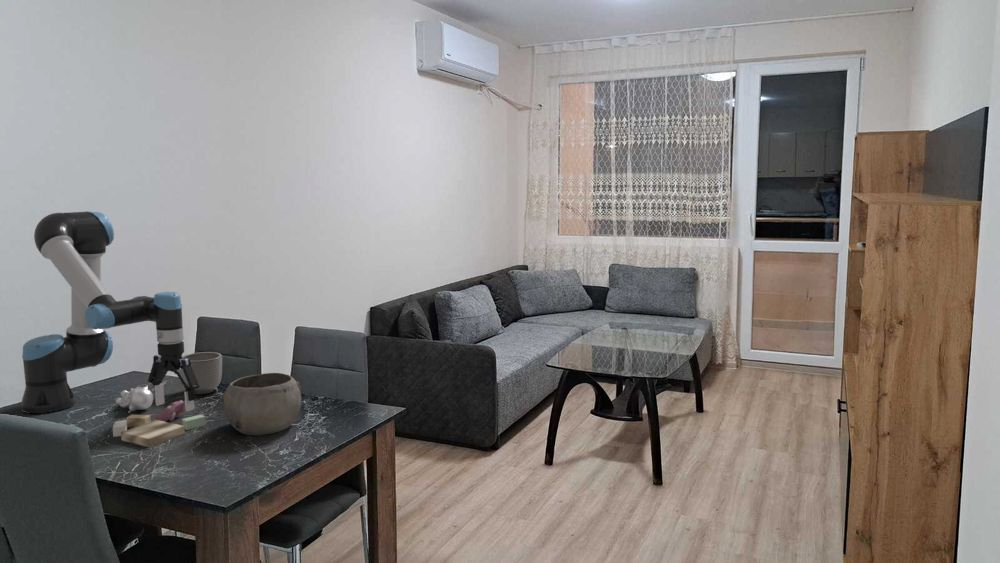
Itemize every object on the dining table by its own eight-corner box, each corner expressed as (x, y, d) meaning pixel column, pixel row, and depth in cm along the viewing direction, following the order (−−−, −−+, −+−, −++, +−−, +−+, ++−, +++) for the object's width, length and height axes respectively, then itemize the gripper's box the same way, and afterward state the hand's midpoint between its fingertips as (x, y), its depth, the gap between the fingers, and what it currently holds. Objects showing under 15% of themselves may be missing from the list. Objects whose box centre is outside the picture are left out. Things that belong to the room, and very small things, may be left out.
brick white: (116, 430, 215) (115, 421, 214) (127, 429, 216) (126, 420, 215) (113, 437, 209) (112, 427, 209) (124, 436, 210) (124, 426, 210)
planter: (214, 397, 247) (212, 361, 245) (174, 397, 247) (172, 361, 246) (229, 386, 261) (228, 352, 259) (192, 385, 261) (190, 351, 259)
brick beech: (126, 427, 218) (126, 417, 217) (132, 423, 221) (131, 414, 220) (145, 427, 218) (145, 418, 217) (151, 424, 221) (150, 415, 220)
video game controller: (165, 429, 220) (173, 410, 219) (153, 422, 221) (161, 403, 219) (185, 419, 230) (193, 401, 228) (173, 412, 230) (181, 394, 229)
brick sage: (186, 430, 215) (186, 421, 215) (182, 428, 217) (181, 419, 217) (206, 425, 220) (205, 416, 219) (201, 423, 222) (200, 414, 221)
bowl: (281, 409, 235) (279, 365, 233) (316, 427, 219) (315, 380, 217) (212, 426, 219) (209, 379, 217) (245, 446, 203) (242, 395, 201)
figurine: (124, 379, 240) (147, 378, 231) (141, 391, 244) (164, 391, 236) (105, 407, 234) (127, 407, 225) (123, 418, 238) (146, 419, 230)
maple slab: (121, 440, 206) (120, 432, 206) (157, 427, 217) (156, 419, 217) (149, 447, 201) (148, 438, 201) (184, 434, 212) (184, 426, 211)
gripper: (133, 340, 224) (137, 405, 226) (188, 348, 213) (193, 416, 216) (153, 335, 230) (158, 399, 233) (208, 343, 219) (212, 409, 222)
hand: (174, 407), depth 224 cm, fingers open, 13 cm apart
